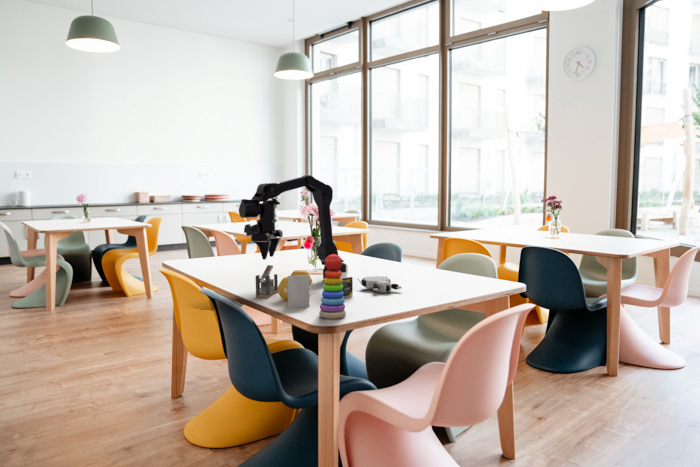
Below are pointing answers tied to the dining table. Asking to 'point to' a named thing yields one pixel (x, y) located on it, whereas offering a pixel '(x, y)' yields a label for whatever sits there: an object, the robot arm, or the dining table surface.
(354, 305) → the dining table surface
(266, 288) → the grey and tan frame
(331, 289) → the stacking toy
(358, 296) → the dining table surface
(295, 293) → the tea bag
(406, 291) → the dining table surface
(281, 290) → the dumbbell
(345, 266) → the medicine bottle
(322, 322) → the dining table surface
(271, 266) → the grey bar
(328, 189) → the robot arm
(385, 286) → the robot toy
